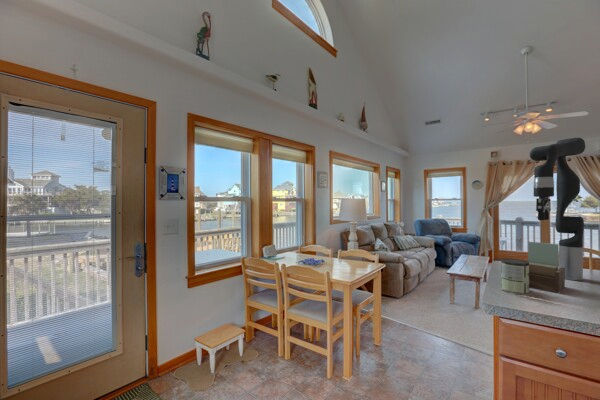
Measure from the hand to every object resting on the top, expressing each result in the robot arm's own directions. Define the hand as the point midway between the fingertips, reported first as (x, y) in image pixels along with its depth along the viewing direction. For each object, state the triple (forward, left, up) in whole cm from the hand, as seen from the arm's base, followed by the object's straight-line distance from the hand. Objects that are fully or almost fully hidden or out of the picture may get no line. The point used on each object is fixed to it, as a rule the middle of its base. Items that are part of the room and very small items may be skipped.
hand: (543, 220), depth 135 cm
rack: (+5, 0, -32) cm, 33 cm away
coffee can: (+21, -6, -32) cm, 39 cm away
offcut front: (+6, 0, -31) cm, 32 cm away
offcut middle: (+3, 0, -31) cm, 31 cm away
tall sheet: (0, 0, -31) cm, 31 cm away
